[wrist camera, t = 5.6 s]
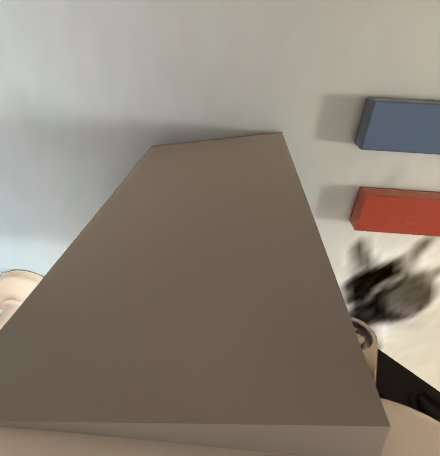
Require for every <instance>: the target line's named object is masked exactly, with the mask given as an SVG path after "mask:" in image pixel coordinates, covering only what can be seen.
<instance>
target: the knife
mask: <svg viewBox="0 0 440 456" xmlns="http://www.w3.org/2000/svg"><path fill="white" fill-rule="evenodd" d="M355 144H356V145H357V146H358V147H359V148H360V149H362V150H378V151H393V152H409V153H424V154H439V155H440V101H430V100H413V99H396V98H379V97H368V99H367V102H366V106H365V109H364V113H363V116H362V120H361V123H360V126H359V130H358V133H357V137H356V140H355Z"/></svg>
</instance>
